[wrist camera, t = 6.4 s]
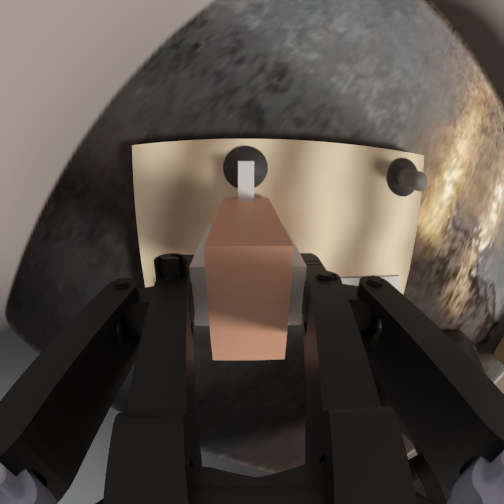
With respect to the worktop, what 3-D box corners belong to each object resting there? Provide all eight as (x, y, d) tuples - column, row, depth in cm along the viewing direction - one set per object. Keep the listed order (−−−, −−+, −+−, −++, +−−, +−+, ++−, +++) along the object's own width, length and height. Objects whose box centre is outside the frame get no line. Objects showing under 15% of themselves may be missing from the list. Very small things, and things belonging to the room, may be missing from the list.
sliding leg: (268, 160, 18) (296, 171, 9) (266, 266, 21) (284, 359, 11) (223, 160, 18) (201, 170, 9) (225, 266, 21) (212, 360, 11)
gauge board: (411, 154, 20) (441, 157, 16) (392, 292, 25) (413, 316, 21) (141, 145, 20) (118, 145, 15) (155, 297, 24) (140, 325, 20)
